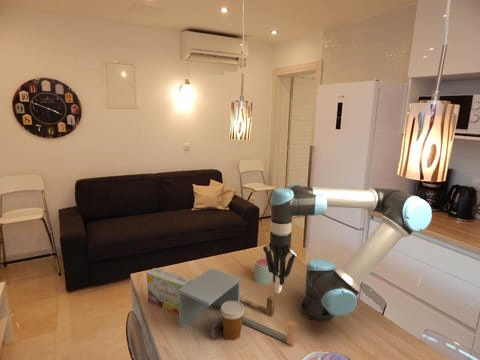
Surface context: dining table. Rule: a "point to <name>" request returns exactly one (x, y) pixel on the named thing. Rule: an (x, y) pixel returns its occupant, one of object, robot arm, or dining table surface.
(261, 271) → the mug
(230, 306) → the disposable coffee cup
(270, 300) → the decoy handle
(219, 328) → the wood-tipped metal rod
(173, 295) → the snack box
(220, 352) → the dining table surface
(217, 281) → the shelf cubby
